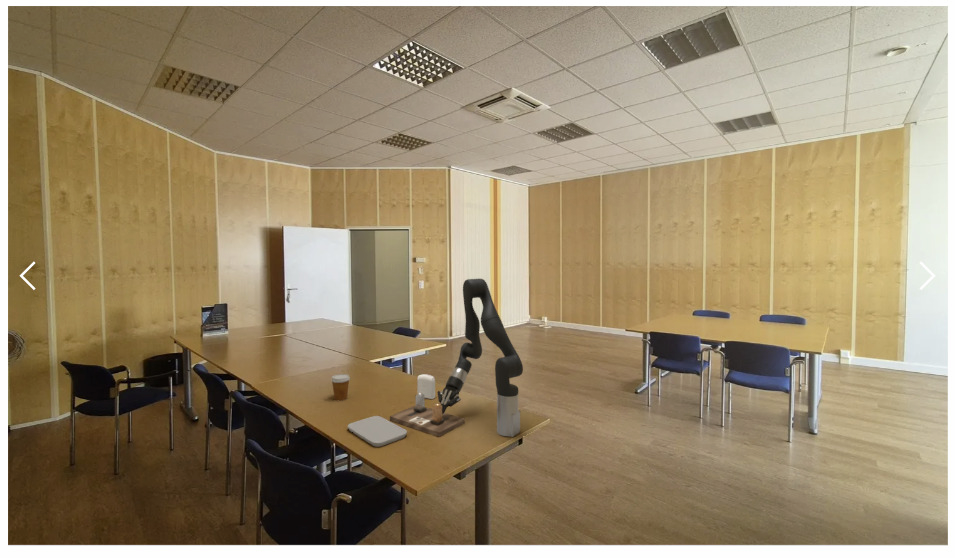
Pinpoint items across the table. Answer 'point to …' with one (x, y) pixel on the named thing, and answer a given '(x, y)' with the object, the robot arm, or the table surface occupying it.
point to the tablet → (377, 431)
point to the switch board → (427, 421)
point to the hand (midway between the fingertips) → (440, 413)
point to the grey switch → (420, 402)
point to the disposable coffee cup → (340, 386)
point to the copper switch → (437, 414)
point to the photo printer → (426, 385)
